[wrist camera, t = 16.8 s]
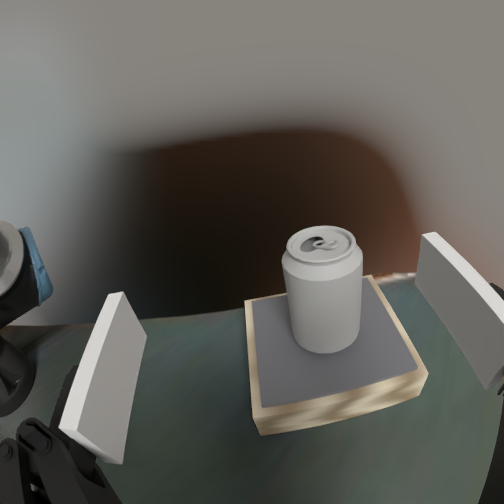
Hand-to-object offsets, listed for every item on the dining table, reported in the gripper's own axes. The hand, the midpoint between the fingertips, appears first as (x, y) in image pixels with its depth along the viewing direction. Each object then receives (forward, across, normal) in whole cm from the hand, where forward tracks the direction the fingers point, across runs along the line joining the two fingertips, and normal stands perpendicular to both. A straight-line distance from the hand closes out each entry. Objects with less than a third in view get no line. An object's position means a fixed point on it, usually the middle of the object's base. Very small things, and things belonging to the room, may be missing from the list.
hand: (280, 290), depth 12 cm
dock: (+13, +5, -23) cm, 27 cm away
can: (+13, +5, -18) cm, 23 cm away
